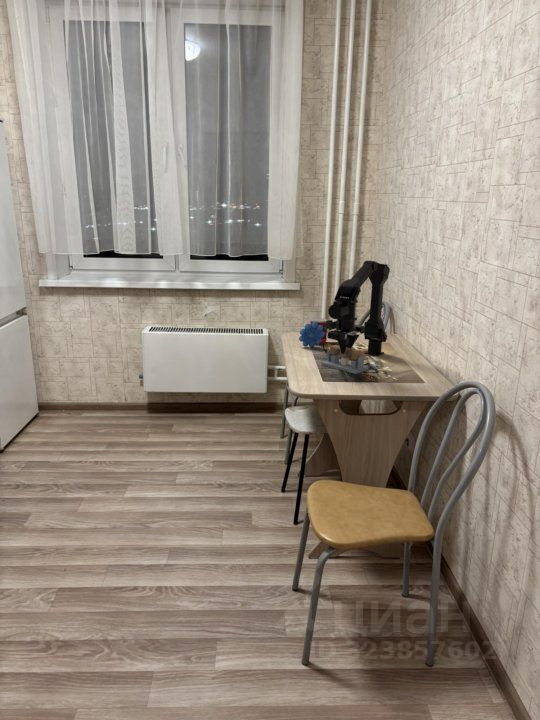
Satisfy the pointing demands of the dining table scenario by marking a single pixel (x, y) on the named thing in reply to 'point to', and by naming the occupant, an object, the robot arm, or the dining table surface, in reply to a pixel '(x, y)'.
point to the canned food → (323, 322)
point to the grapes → (311, 334)
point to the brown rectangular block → (345, 352)
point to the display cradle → (345, 363)
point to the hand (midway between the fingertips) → (345, 352)
